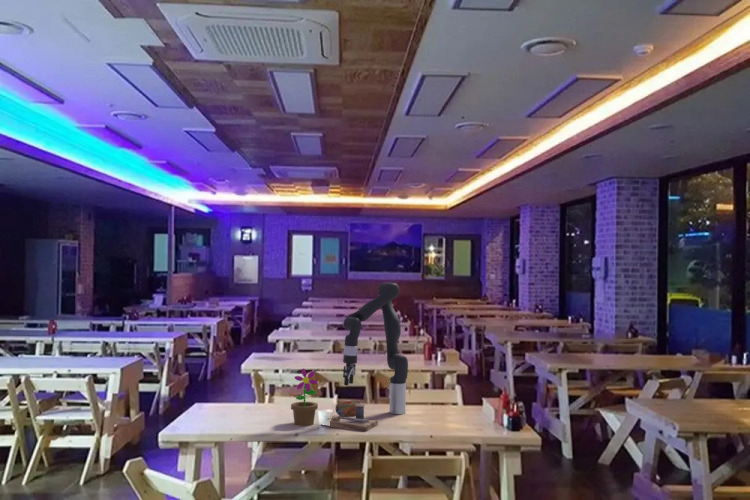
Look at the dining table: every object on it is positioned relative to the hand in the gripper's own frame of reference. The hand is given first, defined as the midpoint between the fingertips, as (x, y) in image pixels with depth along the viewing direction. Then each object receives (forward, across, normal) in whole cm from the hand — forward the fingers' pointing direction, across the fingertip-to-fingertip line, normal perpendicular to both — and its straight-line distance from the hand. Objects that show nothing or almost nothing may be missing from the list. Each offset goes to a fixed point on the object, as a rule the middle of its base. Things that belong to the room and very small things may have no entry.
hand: (348, 384), depth 356 cm
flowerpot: (+22, -11, +20) cm, 31 cm away
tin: (+20, +14, +4) cm, 25 cm away
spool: (+20, +5, -6) cm, 21 cm away
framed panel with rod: (+20, -7, -4) cm, 22 cm away
